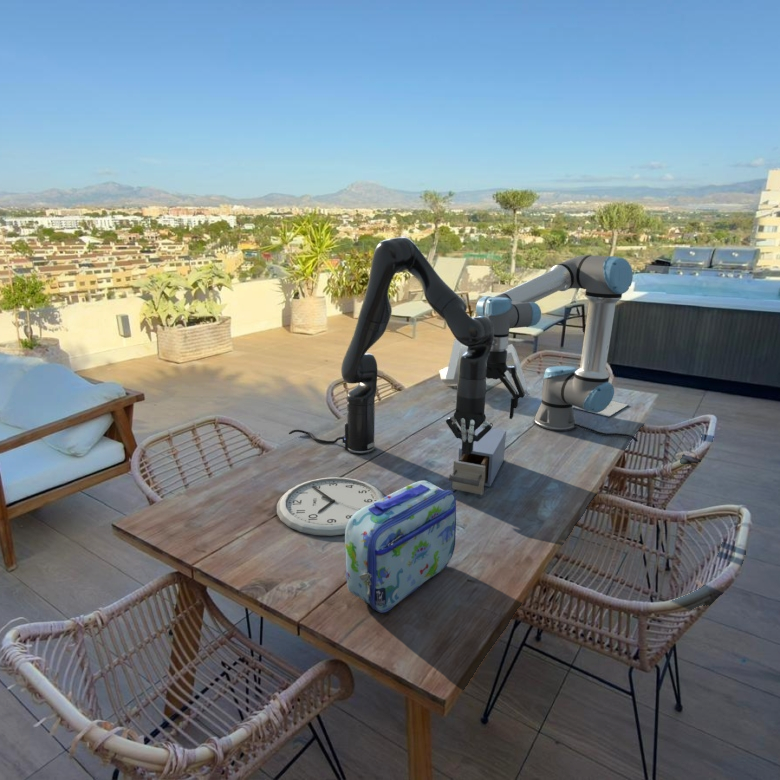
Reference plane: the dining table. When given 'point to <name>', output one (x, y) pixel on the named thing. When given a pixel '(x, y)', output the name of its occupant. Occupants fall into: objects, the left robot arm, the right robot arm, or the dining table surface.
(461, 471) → the drawer
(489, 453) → the cabinet
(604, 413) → the invitation card
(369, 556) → the lunch box
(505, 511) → the dining table surface
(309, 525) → the wall clock
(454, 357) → the white plastic object
